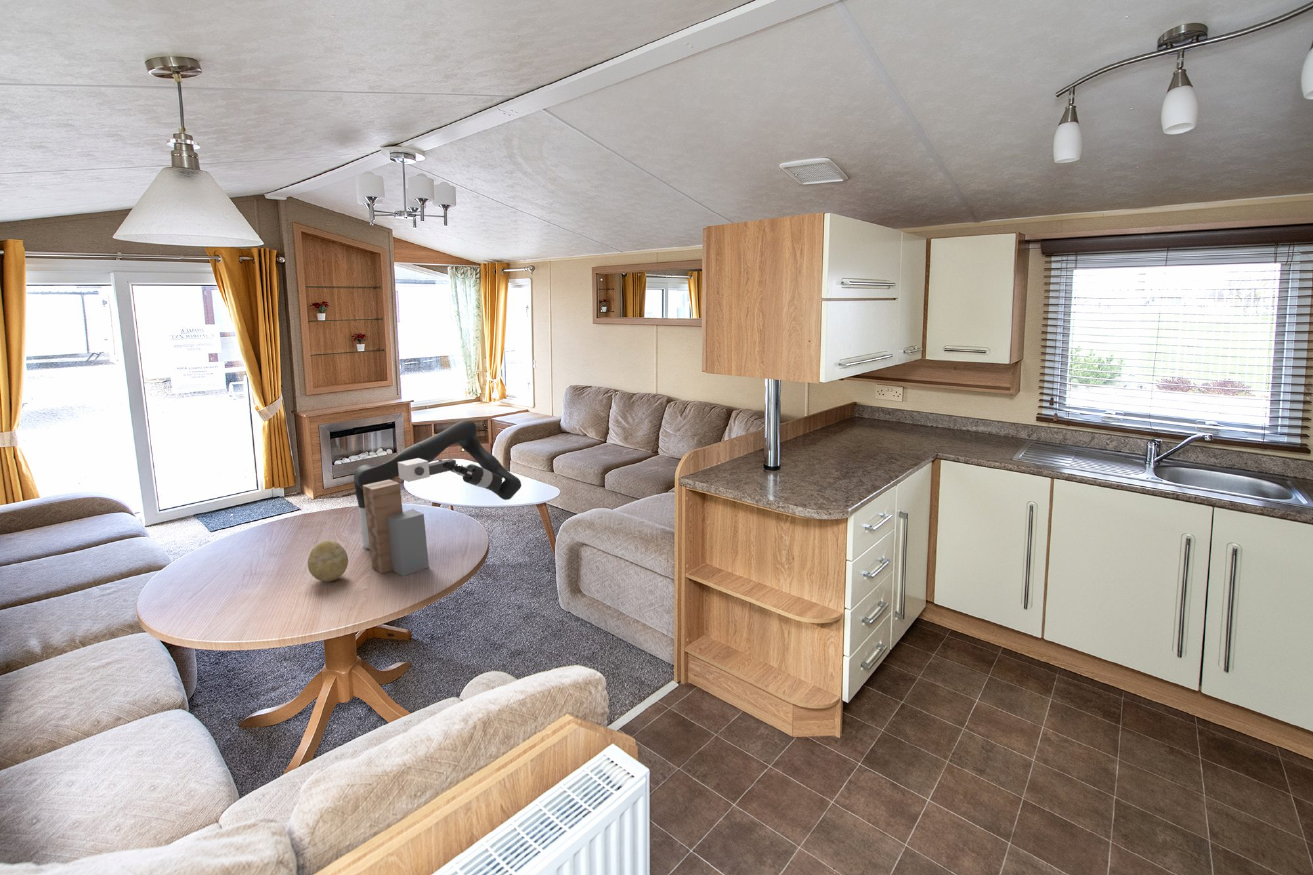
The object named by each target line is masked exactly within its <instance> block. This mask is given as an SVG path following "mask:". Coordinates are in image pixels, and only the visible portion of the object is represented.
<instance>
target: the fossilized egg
mask: <svg viewBox="0 0 1313 875" xmlns="http://www.w3.org/2000/svg"><path fill="white" fill-rule="evenodd" d="M348 565H349V556H348V554H347V551H346V549H345V548H344V547H343V546H342V545H341V544H340V543H339V542H337V541H335V540H334V539H324V540H321V541H319V542H318V543H316V544H315V546H314V547H313V548H312V549H311V551H310V553H309V554H308V556H307V568H308V571H309V573H310V575H311V576H312V577H313V578H315V580H318V581H320V582H325V583H326V582H327V583H328V582H333V581H336V580H337V579H339V578H341V577H342V576H343V575H344V573H345V572H346V570H347V569H348Z"/></svg>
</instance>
